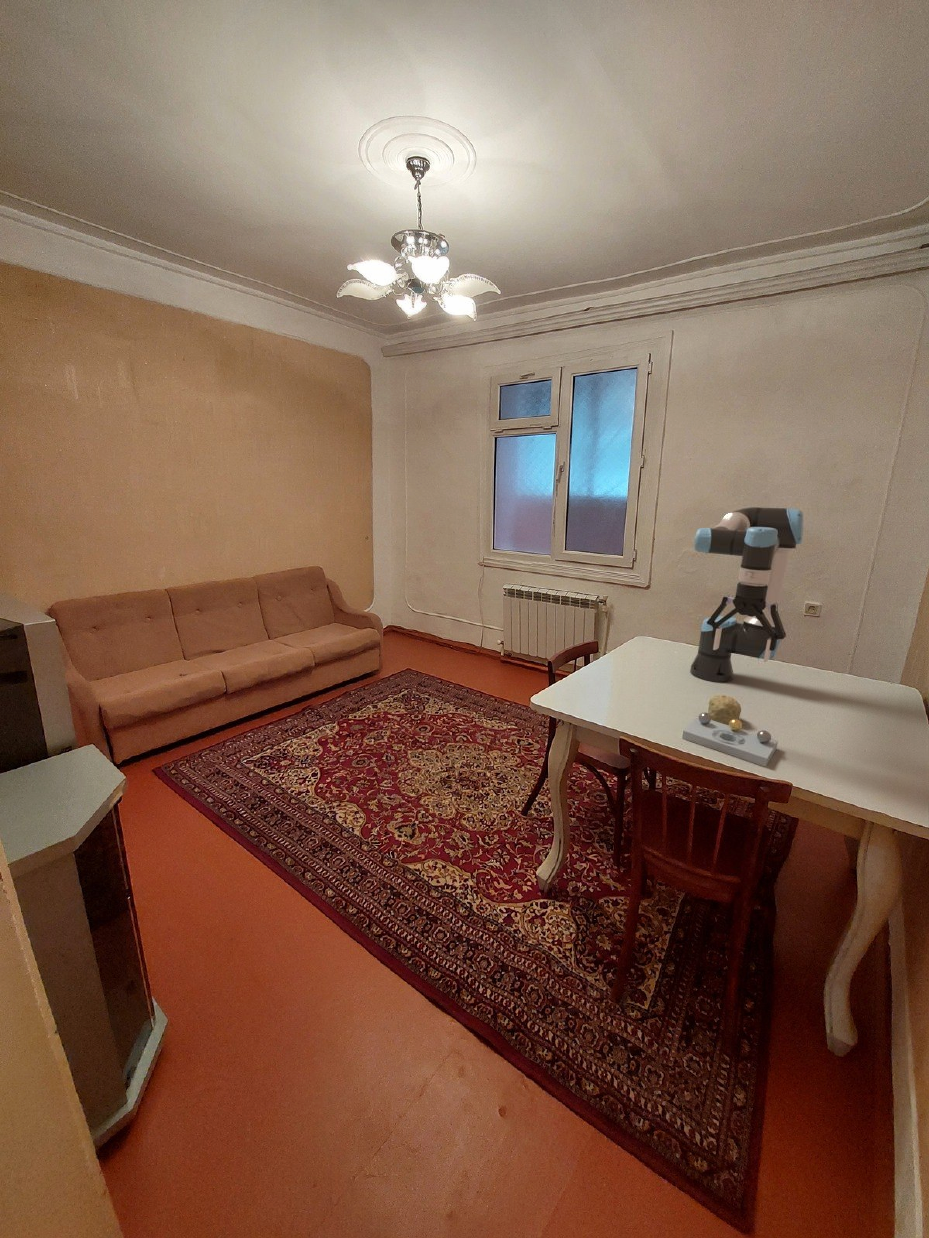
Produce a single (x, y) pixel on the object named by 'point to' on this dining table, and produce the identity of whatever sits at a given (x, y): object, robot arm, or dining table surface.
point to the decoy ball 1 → (704, 718)
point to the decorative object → (723, 709)
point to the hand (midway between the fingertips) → (740, 654)
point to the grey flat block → (730, 741)
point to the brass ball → (735, 724)
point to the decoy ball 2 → (764, 736)
